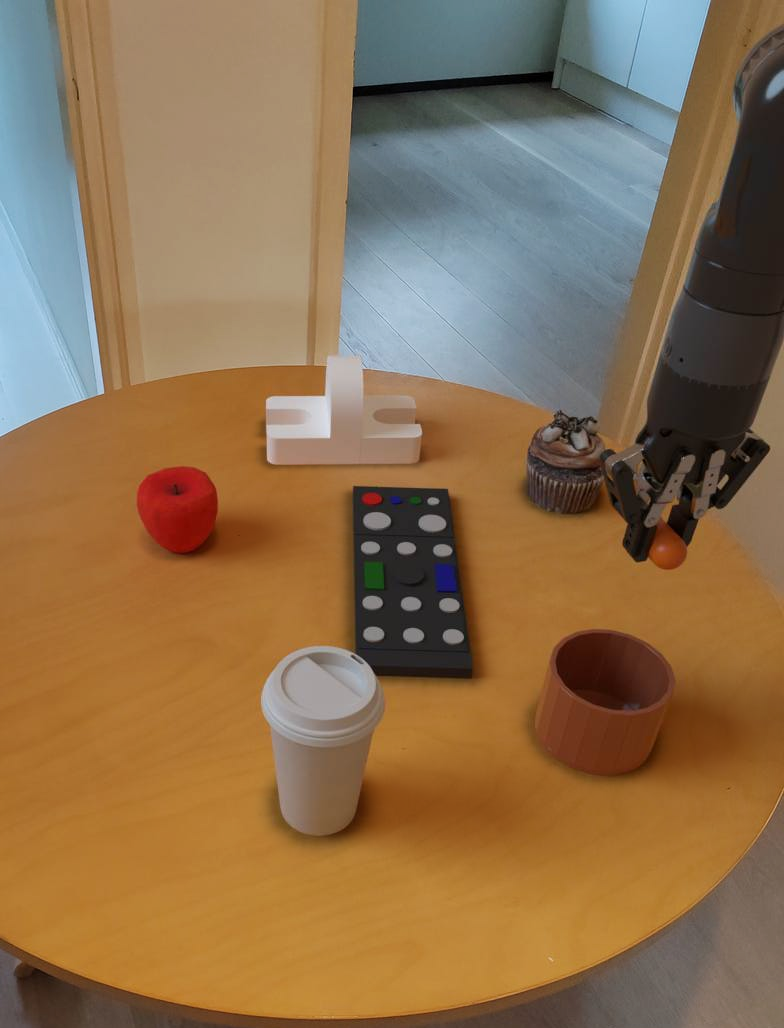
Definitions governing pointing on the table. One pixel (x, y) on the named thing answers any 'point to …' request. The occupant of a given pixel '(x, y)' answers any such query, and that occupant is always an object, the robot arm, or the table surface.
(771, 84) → the robot arm
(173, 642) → the table surface
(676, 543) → the orange double-bulb handle
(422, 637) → the remote control
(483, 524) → the table surface
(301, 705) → the coffee cup
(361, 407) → the bracket
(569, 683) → the utensil cup
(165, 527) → the apple
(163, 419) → the table surface
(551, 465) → the cupcake
